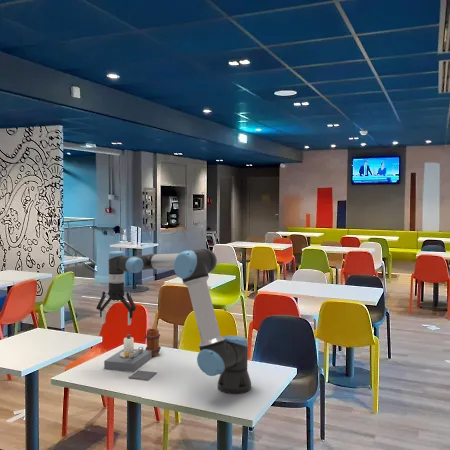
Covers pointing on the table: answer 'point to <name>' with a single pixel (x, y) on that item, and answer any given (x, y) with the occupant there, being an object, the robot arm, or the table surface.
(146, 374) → the pad
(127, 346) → the plug
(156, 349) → the mug
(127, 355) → the clip
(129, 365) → the socket
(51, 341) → the table surface
